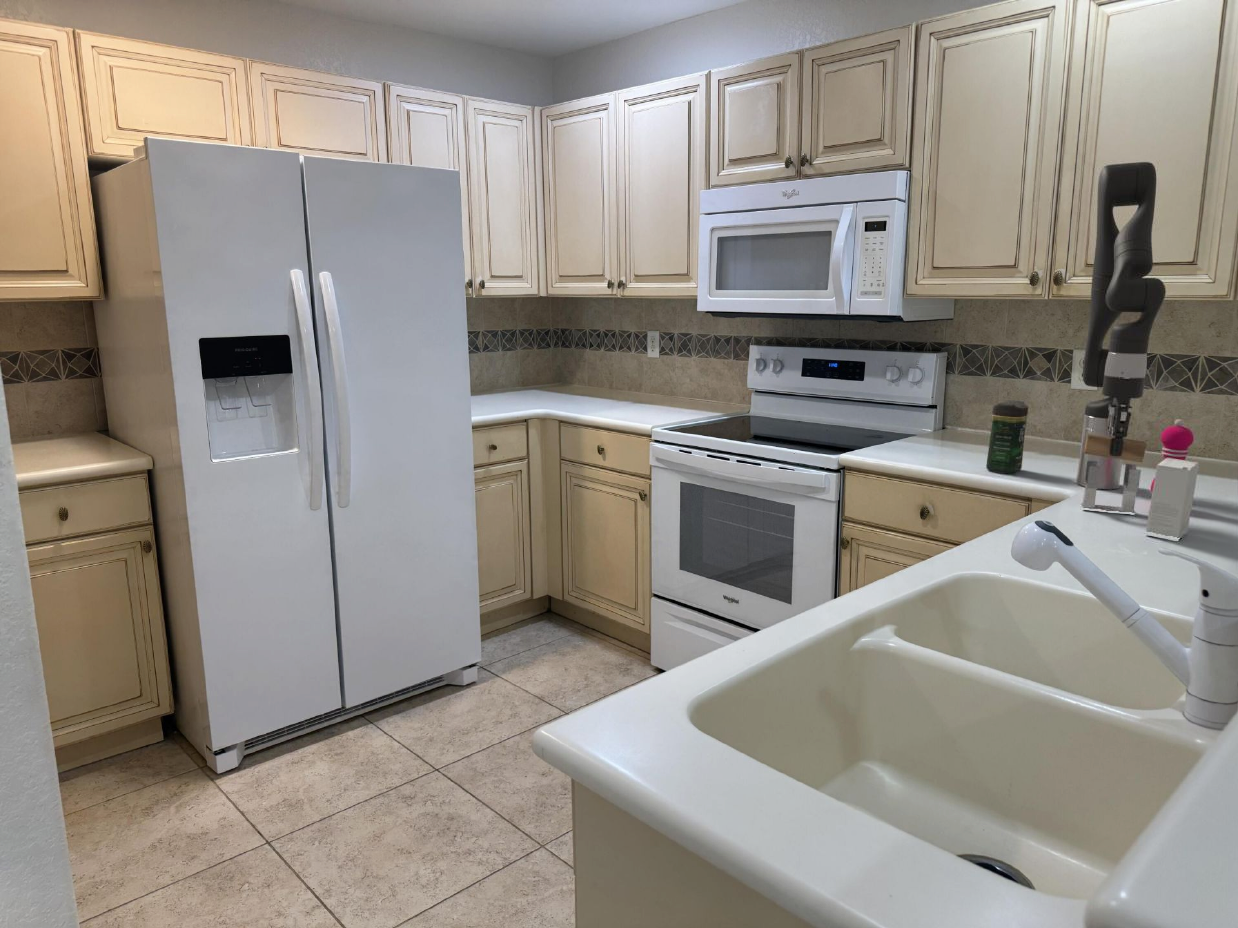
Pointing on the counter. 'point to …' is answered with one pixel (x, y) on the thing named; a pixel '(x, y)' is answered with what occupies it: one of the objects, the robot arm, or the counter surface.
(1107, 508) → the bracket
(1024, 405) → the coffee jar
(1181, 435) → the pepper mill
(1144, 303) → the robot arm
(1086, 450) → the rail
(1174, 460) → the skincare box
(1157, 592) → the counter surface
